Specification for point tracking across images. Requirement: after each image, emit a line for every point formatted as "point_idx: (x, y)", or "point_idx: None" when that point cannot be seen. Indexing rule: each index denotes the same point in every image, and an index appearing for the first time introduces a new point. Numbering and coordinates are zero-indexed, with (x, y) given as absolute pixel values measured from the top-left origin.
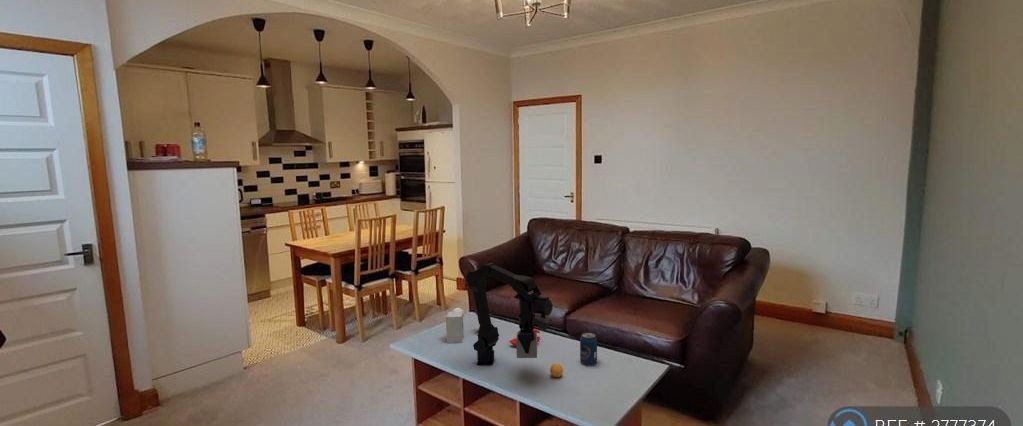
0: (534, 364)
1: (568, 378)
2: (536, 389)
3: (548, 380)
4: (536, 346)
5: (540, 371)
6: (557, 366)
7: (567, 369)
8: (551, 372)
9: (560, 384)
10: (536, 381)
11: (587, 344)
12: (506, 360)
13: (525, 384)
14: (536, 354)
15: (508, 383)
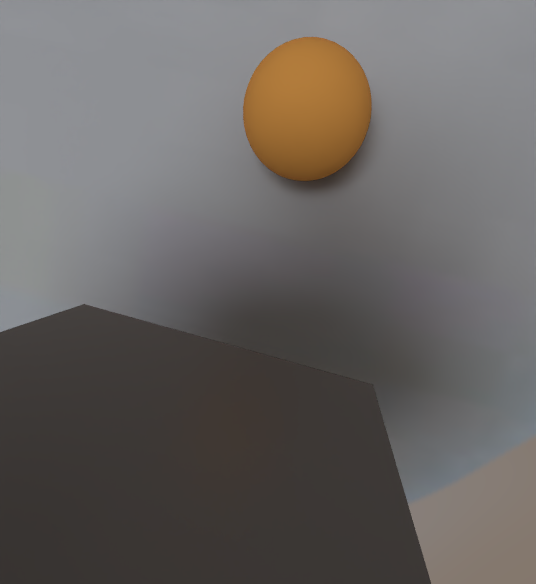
0: (92, 263)
1: (372, 30)
2: (478, 341)
3: (362, 216)
4: (427, 573)
5: (205, 244)
6: (342, 90)
7: (209, 4)
8: (328, 174)
9: (458, 130)
10: (354, 311)
11: None
12: None
13: (378, 397)
14: (382, 422)
15: None
